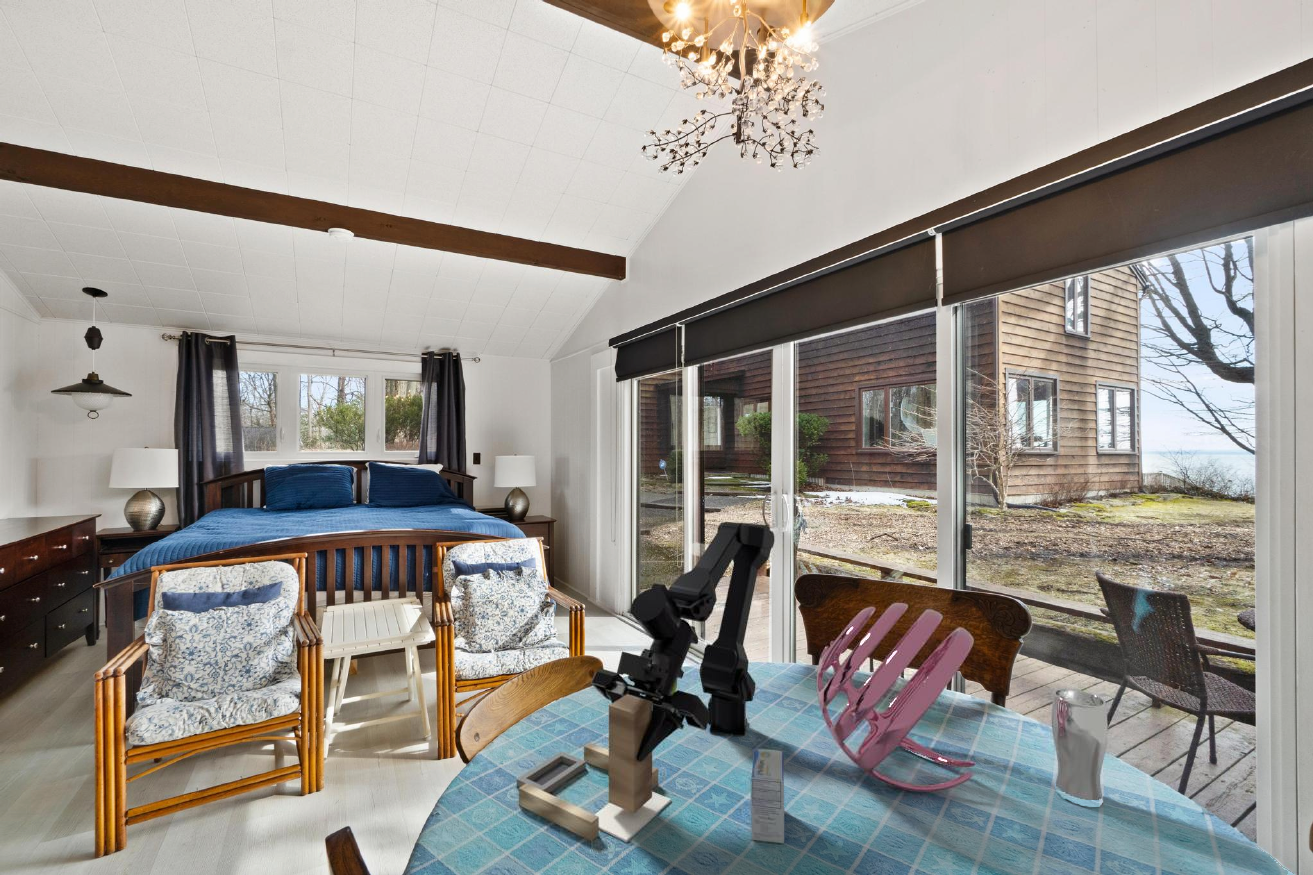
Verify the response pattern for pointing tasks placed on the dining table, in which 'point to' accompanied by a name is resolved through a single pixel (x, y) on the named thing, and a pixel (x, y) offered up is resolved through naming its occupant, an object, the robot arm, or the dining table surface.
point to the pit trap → (553, 772)
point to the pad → (629, 817)
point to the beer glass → (1079, 741)
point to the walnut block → (629, 753)
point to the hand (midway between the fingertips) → (624, 755)
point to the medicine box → (767, 796)
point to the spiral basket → (908, 703)
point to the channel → (565, 811)
